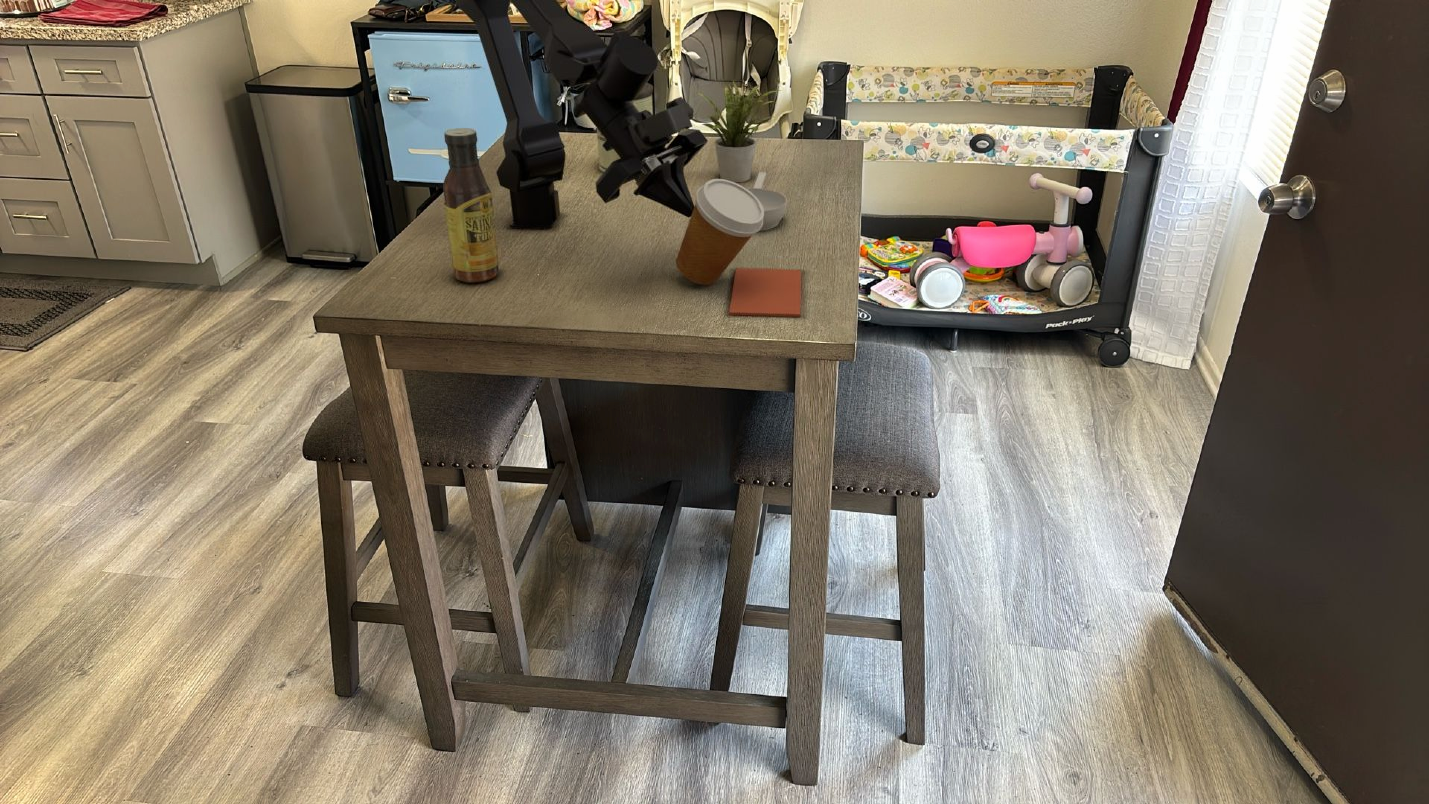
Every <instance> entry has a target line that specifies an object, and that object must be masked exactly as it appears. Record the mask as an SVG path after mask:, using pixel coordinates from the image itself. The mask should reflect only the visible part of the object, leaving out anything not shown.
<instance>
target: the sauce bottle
mask: <svg viewBox="0 0 1429 804" xmlns="http://www.w3.org/2000/svg"><path fill="white" fill-rule="evenodd" d="M443 134H444V135H443V136H444V143H445V145H446V146H447V155H448V166H449V168H448V172H446V175H445V177H444V179H443V183H442V184H443V185H442V191H443V198H444V204H443V205H444V212H445V220H446V221H445V222H446V226H447V227H446V229H447V237H448V243H449V245H448V246H449V250H450V251H449V253H450V260H451V267H453V275H454V278H456V280H457V281H459V282H463V283H468V284H470V283H472V284H473V283H482V282H486V281H489V280H492V279H493V278H495V277H496V276H497V275H498V273H499V253H498V243H497V235H496V223H495V217H494V216H495V214H494V206H493V197H492V196H493V195H492V191H491V189H490V187H489V184H488V183H487V181H486V178H485V175H484V173H483V170H482V168H481V165H480V160H479V156H478V147H477V143H478V135H477V134H478V133H477V131H476V130H475V129H473V128H468V127H460V128H459V127H458V128H457V127H456V128H451V129H450V128H449V129H448V130H446V131H444V132H443Z"/></svg>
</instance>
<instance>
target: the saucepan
mask: <svg viewBox="0 0 1429 804" xmlns="http://www.w3.org/2000/svg"><path fill="white" fill-rule="evenodd" d="M766 177H767V173H766V172H765V171H760V172H758V175H757V177H756V180H755V183H754V184H753V187H745V188H746V189H747V190H749V191H750V192H751V193H752V194H753V195H755V196H756V198H757V199H758V200H759V201H760V203H761V204H762V206H763V209H764V217H763V226H762V228H761V229H760V230H759V231H758V232H761V231H766V230H767V231H768V230H770V229H773V228H776V227H777V226H778V225H779V224H780V221H781V220H782V219H783V217H784V216H785V213H786V212H787V211H786V210H787V202H788V198H787V197H786V196H785V194H783V193H781V192H779V191H777V190H771V189H767V188H763V185H764V183H765V180H766Z"/></svg>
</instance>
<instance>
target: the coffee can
mask: <svg viewBox="0 0 1429 804" xmlns="http://www.w3.org/2000/svg"><path fill="white" fill-rule="evenodd" d="M653 92H654V86H653V84H651V83H648V82H647V83H646V85H645V86H644V88H643V89H642V91H641V92H640V94H639V95H638V97H637V98H636V99H634V100H632V101H631V102H632V103H633V104H634V106H635V107H636V108H637V109H638V111H639V112H641V111H644V110H647V111H650V112H651V114H652V115H654V98H653V97H654V95H653ZM596 136H597V149H598V162H599V163H598V164H599V167H598V168H599V171H601V172H602V173H604V172H605V170H606V169H607V168H608V167H609V166H610V164H611V163H612V162H613V161H615V160H618V159H620V157H619V155H618V154H617V153H616V152H615V150H614V149H612V150H609V151H606V150H605V148H604V147H603V146H602V145H603V144H604V143H605V141H606V139H605V138H604V136H603V135H602V134H601V133H600V131H599V130H598V129H597V128H596Z"/></svg>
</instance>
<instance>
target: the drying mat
mask: <svg viewBox="0 0 1429 804" xmlns="http://www.w3.org/2000/svg"><path fill="white" fill-rule="evenodd" d="M734 273H735V274H734V280H733V286H732V291H731V299H730V303H729V304H730V305H729V310H728V315H729V316H753V317H782V318H783V317H785V318H786V317H787V318H789V317H790V318H801V308H802V307H801V305H802V303H801V301H802V300H801V299H802V298H801V296H802V269H781V268H780V269H778V268H776V269H775V268H735V272H734Z"/></svg>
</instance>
